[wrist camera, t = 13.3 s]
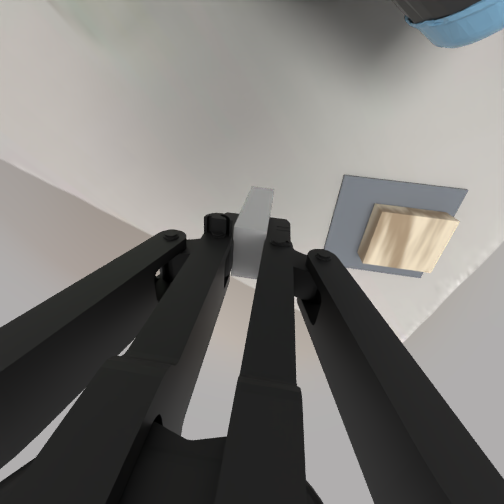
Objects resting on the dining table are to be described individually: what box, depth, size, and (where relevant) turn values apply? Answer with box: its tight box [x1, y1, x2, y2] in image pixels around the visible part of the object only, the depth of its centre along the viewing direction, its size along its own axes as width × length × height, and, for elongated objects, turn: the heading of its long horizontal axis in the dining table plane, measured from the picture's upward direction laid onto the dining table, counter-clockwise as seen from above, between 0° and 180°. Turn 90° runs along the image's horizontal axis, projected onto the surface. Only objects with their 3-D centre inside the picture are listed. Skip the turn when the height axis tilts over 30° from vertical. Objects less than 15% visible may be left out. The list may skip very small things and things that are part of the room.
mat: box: [324, 175, 468, 278], centre depth 46 cm, size 20×18×1 cm
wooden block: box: [357, 203, 460, 273], centre depth 44 cm, size 4×10×12 cm
